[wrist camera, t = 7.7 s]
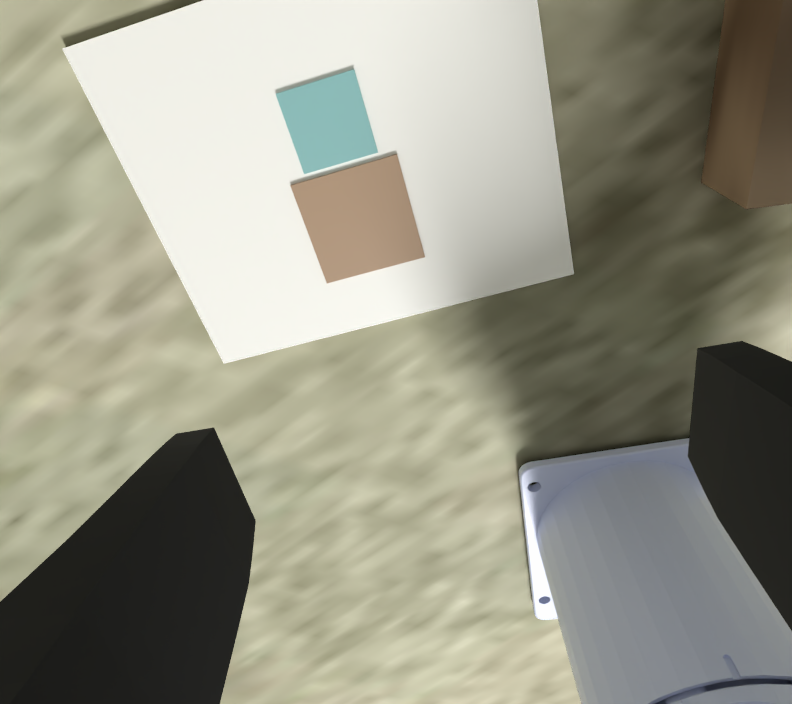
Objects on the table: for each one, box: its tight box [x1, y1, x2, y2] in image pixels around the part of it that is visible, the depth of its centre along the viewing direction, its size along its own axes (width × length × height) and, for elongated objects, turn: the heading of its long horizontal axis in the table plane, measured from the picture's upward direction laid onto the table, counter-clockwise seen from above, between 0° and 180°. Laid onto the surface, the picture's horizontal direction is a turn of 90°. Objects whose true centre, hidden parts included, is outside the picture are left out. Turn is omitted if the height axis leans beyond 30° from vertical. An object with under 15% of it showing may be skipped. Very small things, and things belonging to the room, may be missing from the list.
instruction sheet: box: [63, 0, 574, 363], centre depth 17 cm, size 10×12×1 cm
